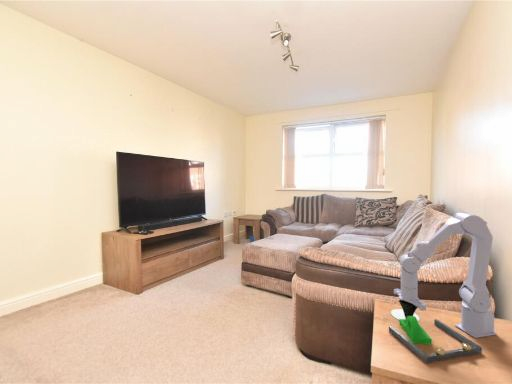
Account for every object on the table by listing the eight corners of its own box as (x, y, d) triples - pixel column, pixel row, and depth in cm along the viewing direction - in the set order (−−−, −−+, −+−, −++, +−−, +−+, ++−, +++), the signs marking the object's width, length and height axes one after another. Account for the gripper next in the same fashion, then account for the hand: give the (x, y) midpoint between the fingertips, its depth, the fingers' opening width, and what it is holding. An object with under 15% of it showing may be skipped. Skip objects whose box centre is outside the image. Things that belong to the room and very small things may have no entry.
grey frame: (436, 324, 101) (436, 316, 100) (484, 354, 83) (484, 345, 83) (388, 331, 97) (388, 323, 97) (428, 365, 80) (428, 355, 79)
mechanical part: (431, 344, 89) (431, 322, 89) (412, 343, 90) (412, 321, 90) (415, 324, 101) (415, 304, 100) (399, 323, 102) (399, 304, 101)
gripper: (387, 279, 108) (387, 310, 109) (414, 295, 94) (414, 331, 94) (402, 277, 109) (402, 308, 110) (431, 293, 95) (430, 328, 96)
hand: (408, 319), depth 102 cm, fingers closed
